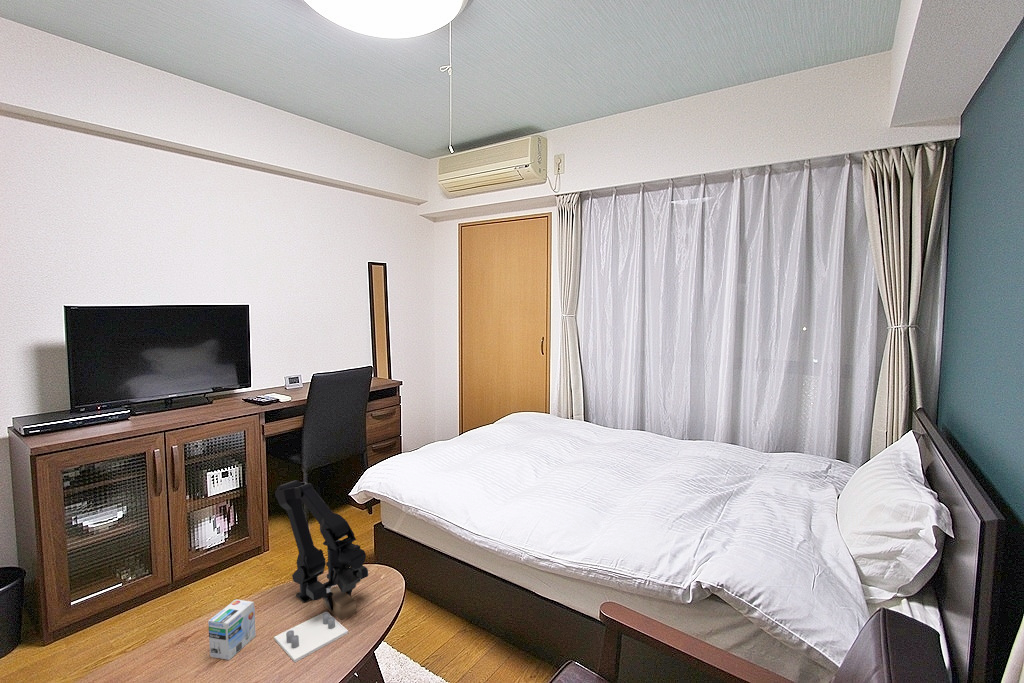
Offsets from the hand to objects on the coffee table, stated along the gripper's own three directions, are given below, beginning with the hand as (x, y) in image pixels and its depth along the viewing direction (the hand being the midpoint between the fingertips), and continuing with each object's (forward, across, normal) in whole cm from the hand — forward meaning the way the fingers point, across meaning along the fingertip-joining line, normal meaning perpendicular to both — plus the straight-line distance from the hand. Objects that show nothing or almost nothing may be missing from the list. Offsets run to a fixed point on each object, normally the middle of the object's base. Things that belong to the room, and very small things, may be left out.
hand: (339, 606), depth 157 cm
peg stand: (+1, -12, -6) cm, 13 cm away
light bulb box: (+1, -29, +7) cm, 30 cm away
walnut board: (+1, 0, 0) cm, 1 cm away
